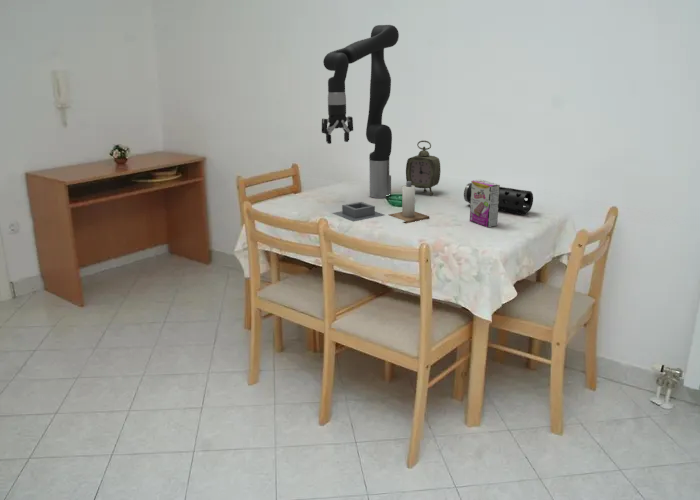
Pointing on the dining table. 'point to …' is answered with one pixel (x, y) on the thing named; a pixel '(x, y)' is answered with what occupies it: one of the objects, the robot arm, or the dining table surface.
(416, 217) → the walnut board
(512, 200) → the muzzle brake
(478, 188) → the candy bar box
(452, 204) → the dining table surface
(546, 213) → the dining table surface
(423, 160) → the tabletop clock
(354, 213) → the socket block
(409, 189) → the bottle
